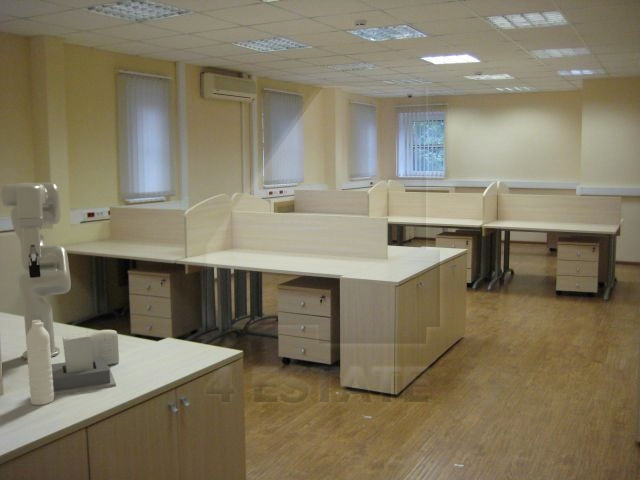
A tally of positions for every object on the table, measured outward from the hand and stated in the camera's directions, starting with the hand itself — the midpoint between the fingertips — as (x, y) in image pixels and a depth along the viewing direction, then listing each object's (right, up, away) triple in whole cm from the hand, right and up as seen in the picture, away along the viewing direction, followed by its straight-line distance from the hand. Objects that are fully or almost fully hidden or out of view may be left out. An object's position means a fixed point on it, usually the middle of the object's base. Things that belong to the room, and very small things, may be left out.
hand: (35, 274), depth 214 cm
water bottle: (+11, -37, -20) cm, 44 cm away
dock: (+16, -35, -3) cm, 38 cm away
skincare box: (+16, -34, -3) cm, 38 cm away
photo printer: (+18, -33, +14) cm, 40 cm away
